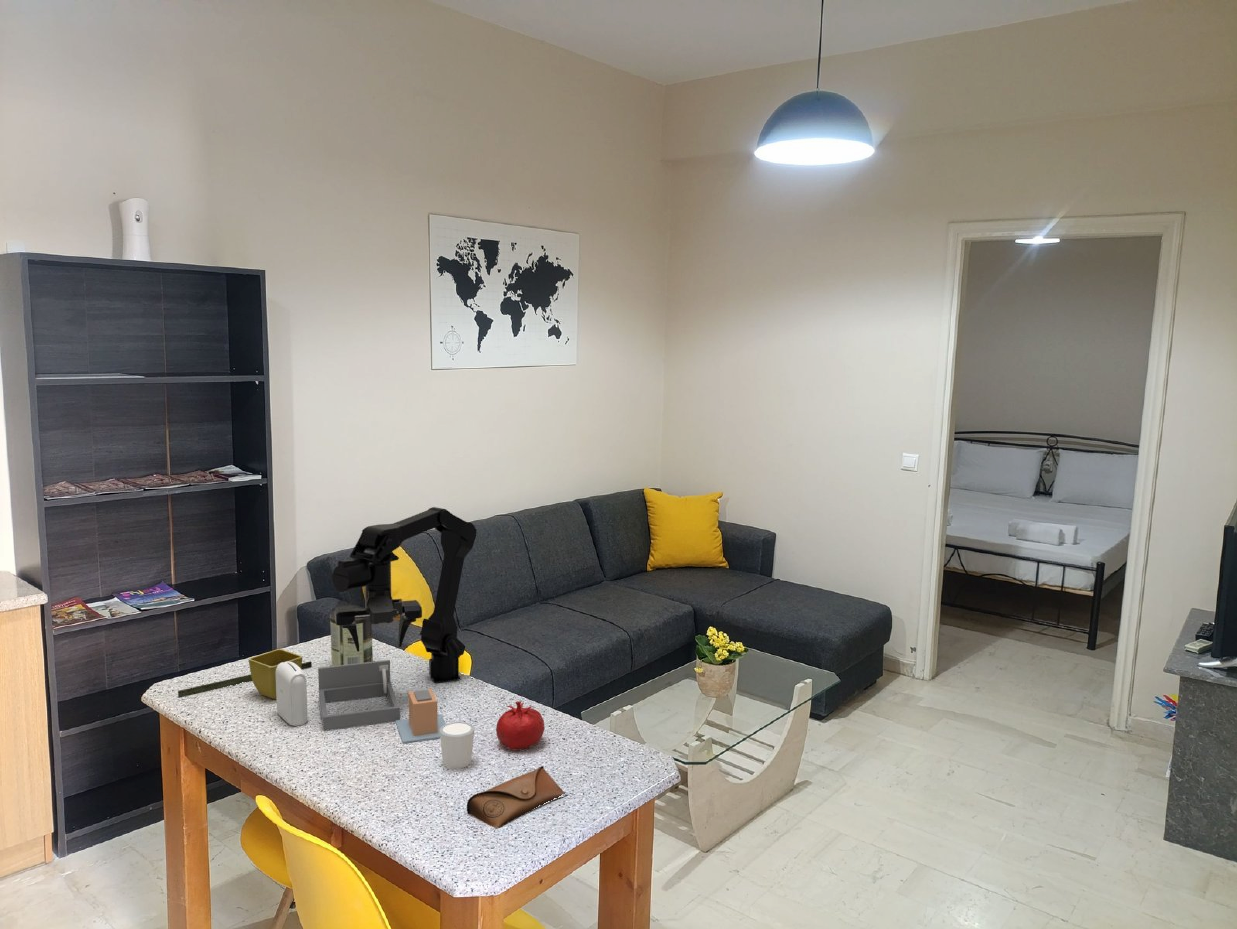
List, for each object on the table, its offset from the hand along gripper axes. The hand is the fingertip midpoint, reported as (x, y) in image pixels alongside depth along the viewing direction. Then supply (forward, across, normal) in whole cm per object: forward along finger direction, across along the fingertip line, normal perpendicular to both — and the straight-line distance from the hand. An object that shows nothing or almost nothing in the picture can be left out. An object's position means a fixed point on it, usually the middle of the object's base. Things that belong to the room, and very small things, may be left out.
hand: (379, 649), depth 201 cm
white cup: (+13, +11, -34) cm, 38 cm away
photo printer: (+13, -19, -2) cm, 23 cm away
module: (+13, +7, -17) cm, 22 cm away
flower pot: (+13, -22, +13) cm, 29 cm away
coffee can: (+13, -4, +25) cm, 29 cm away
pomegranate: (+13, +25, -30) cm, 41 cm away
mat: (+13, +7, -17) cm, 23 cm away
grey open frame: (+13, -5, -3) cm, 14 cm away
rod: (+14, -28, +23) cm, 39 cm away
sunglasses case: (+14, +18, -53) cm, 58 cm away
